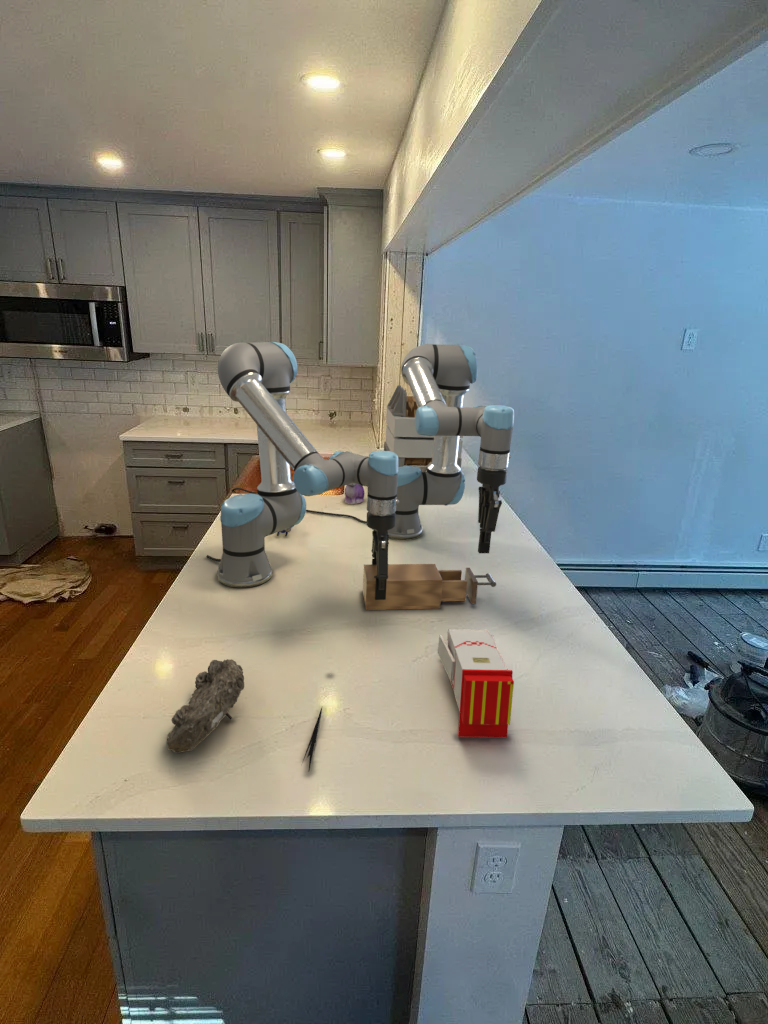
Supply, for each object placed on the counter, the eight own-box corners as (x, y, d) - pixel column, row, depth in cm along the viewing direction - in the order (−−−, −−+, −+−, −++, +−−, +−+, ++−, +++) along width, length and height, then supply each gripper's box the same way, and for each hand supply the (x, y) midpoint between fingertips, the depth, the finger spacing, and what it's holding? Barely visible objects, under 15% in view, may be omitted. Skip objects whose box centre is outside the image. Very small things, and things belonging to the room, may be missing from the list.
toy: (488, 613, 130) (523, 677, 101) (484, 667, 133) (517, 744, 104) (435, 612, 130) (455, 676, 101) (432, 666, 133) (451, 743, 103)
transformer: (382, 463, 289) (386, 382, 275) (445, 464, 293) (451, 384, 279) (390, 482, 257) (394, 392, 243) (460, 483, 261) (468, 394, 247)
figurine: (348, 506, 225) (349, 469, 220) (338, 498, 233) (339, 463, 228) (369, 503, 229) (371, 467, 224) (359, 496, 237) (360, 461, 232)
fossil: (192, 660, 117) (244, 628, 112) (224, 691, 120) (276, 661, 115) (142, 746, 98) (202, 712, 93) (182, 779, 101) (242, 748, 96)
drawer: (487, 588, 161) (489, 567, 159) (496, 603, 153) (498, 581, 151) (402, 589, 158) (403, 568, 156) (407, 604, 150) (408, 582, 148)
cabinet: (433, 591, 160) (435, 563, 157) (440, 608, 151) (442, 579, 148) (362, 592, 158) (363, 564, 155) (365, 610, 149) (366, 581, 146)
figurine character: (291, 542, 192) (296, 522, 205) (290, 522, 188) (296, 503, 202) (271, 542, 191) (278, 521, 205) (270, 522, 188) (277, 502, 201)
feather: (331, 679, 122) (336, 673, 122) (307, 777, 96) (313, 769, 95) (324, 675, 122) (329, 669, 121) (298, 772, 95) (304, 764, 95)
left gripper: (402, 528, 135) (397, 610, 143) (390, 497, 156) (387, 570, 164) (370, 528, 134) (367, 610, 142) (363, 497, 155) (361, 571, 163)
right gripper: (515, 474, 139) (504, 562, 147) (499, 461, 151) (490, 542, 159) (485, 474, 138) (476, 562, 146) (472, 460, 150) (463, 542, 158)
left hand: (378, 589), depth 153 cm, fingers closed on cabinet, 10 cm apart
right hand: (483, 552), depth 152 cm, fingers closed
